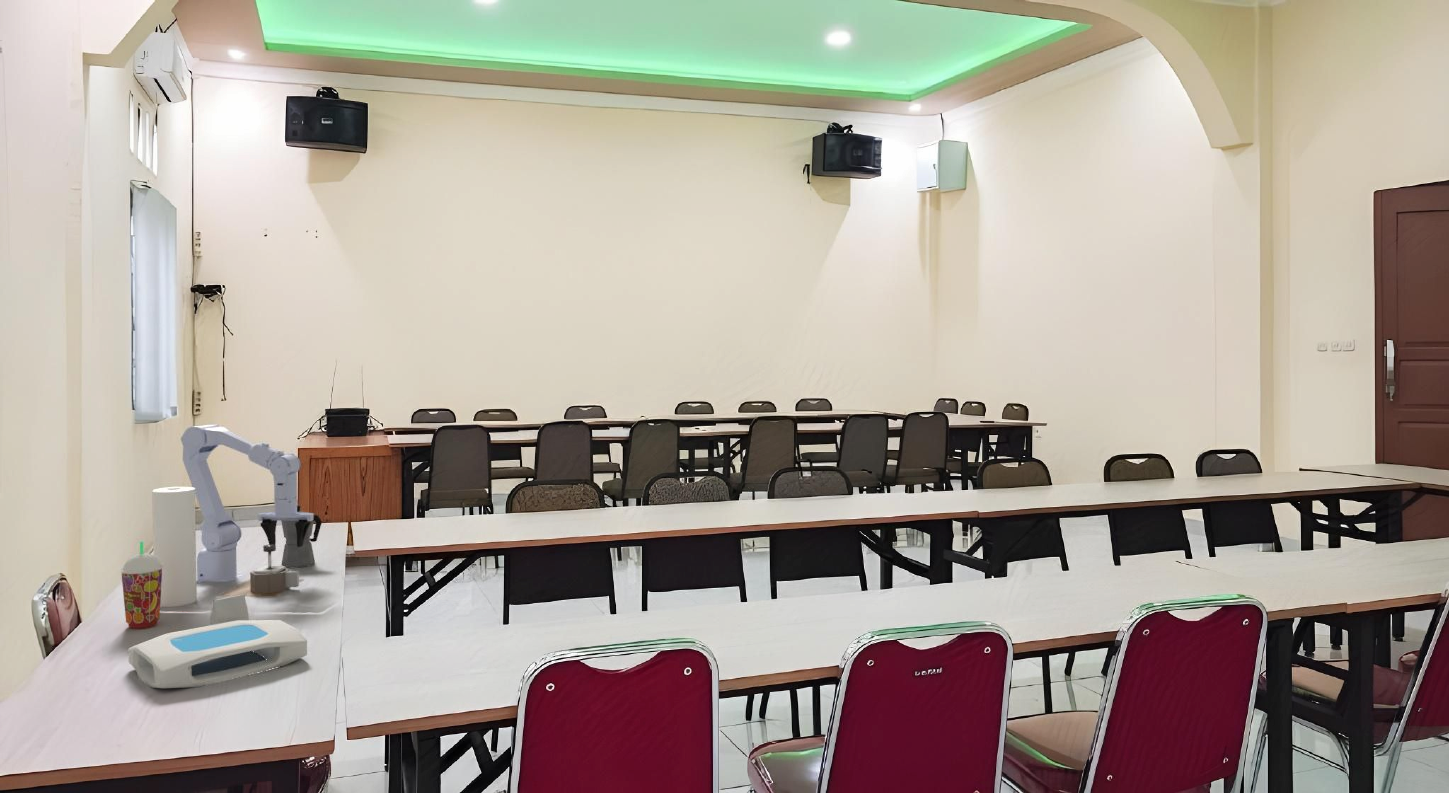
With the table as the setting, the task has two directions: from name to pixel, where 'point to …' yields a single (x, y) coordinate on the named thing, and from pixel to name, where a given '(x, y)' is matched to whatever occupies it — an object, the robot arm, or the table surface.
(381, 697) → the table surface
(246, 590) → the board
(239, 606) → the tea bag
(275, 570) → the grey faceted block
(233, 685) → the table surface
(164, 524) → the cylinder container
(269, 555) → the plunger
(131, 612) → the smoothie
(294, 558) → the coffeepot
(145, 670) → the document scanner
